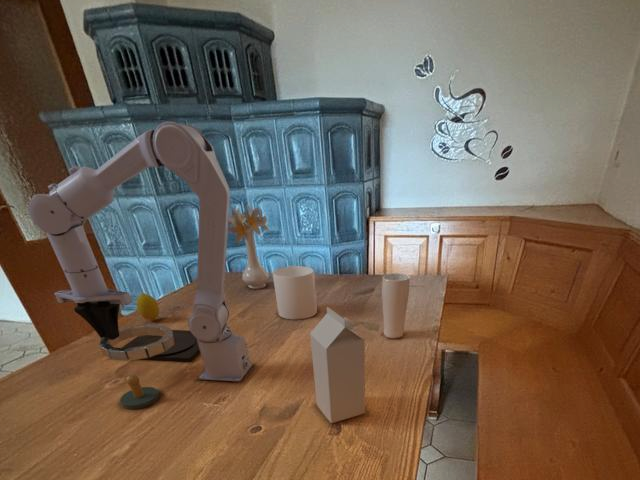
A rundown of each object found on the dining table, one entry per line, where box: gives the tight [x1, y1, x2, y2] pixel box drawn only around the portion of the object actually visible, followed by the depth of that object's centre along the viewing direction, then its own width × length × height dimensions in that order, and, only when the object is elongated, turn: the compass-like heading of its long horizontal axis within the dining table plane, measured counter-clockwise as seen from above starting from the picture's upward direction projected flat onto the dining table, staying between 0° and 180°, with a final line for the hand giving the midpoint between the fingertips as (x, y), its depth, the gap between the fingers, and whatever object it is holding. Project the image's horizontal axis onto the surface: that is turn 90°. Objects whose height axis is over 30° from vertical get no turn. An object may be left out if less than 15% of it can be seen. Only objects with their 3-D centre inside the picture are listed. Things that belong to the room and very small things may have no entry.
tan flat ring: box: [98, 323, 175, 362], centre depth 79 cm, size 13×13×2 cm
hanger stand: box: [119, 374, 160, 410], centre depth 76 cm, size 7×7×6 cm
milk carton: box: [309, 306, 366, 424], centre depth 68 cm, size 7×7×19 cm
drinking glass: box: [381, 272, 411, 339], centre depth 98 cm, size 7×7×15 cm
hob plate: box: [121, 329, 201, 363], centre depth 98 cm, size 20×16×1 cm
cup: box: [272, 265, 318, 321], centre depth 113 cm, size 12×12×12 cm
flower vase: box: [228, 204, 270, 290], centre depth 130 cm, size 13×18×25 cm
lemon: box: [135, 292, 160, 322], centre depth 110 cm, size 6×6×8 cm
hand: (110, 337), depth 80 cm, fingers closed on tan flat ring, 1 cm apart
